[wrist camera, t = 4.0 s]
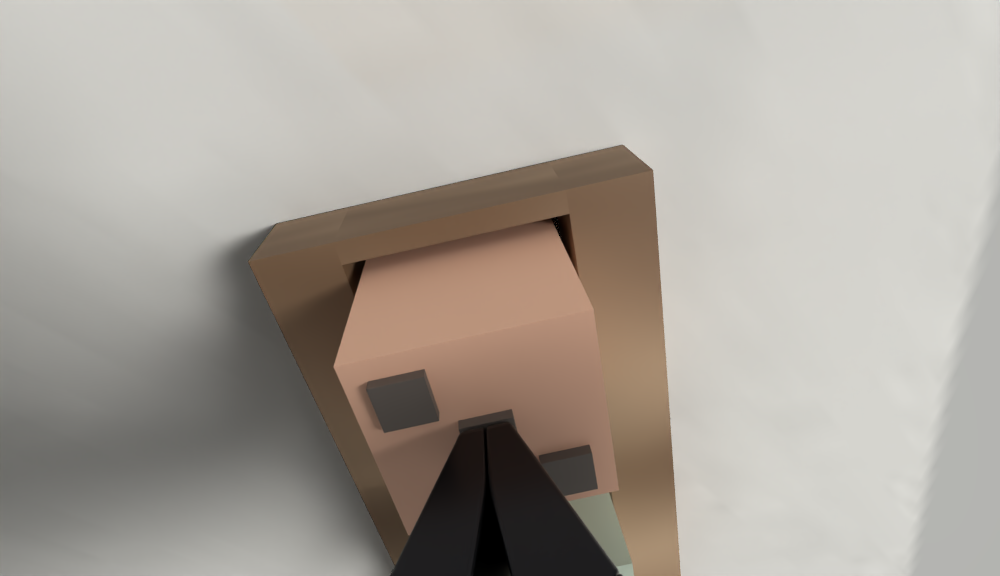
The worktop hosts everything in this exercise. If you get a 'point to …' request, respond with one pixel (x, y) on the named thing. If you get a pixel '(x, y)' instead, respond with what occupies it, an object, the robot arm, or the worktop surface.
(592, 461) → the key three
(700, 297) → the worktop surface
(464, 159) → the worktop surface
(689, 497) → the worktop surface
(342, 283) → the board
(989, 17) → the worktop surface
